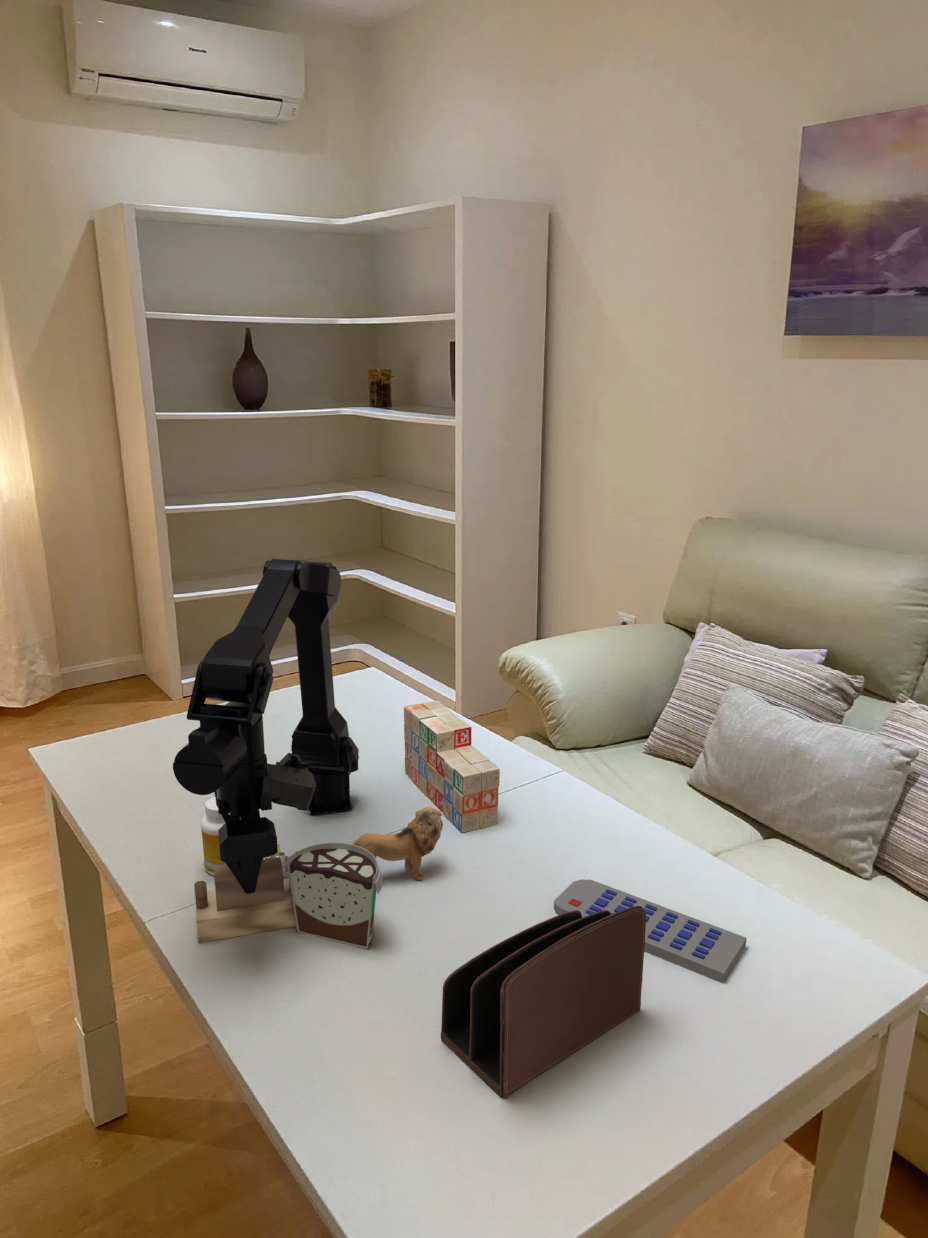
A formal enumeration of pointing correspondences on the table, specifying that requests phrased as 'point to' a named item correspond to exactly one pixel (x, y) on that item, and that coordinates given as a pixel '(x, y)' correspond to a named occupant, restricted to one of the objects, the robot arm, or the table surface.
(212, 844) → the supplement bottle
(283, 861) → the door lever handle
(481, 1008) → the letter holder
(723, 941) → the remote control
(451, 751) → the stack of blocks
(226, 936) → the peg stand
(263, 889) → the tall brown cuboid
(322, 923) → the food container
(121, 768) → the table surface
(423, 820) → the lion figurine
